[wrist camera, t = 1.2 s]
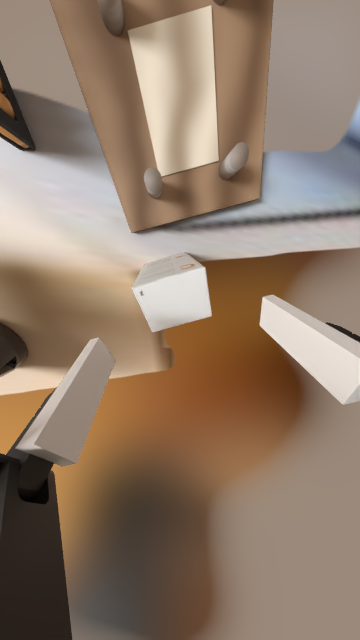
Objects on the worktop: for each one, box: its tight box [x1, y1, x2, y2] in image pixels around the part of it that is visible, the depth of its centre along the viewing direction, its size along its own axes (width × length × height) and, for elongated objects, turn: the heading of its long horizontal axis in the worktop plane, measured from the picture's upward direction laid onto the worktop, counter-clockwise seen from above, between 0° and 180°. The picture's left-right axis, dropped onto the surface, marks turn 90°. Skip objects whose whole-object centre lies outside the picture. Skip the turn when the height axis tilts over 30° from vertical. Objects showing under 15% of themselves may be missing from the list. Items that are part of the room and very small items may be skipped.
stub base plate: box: [50, 0, 273, 233], centre depth 15 cm, size 20×20×6 cm
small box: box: [131, 252, 212, 333], centre depth 21 cm, size 8×6×13 cm
